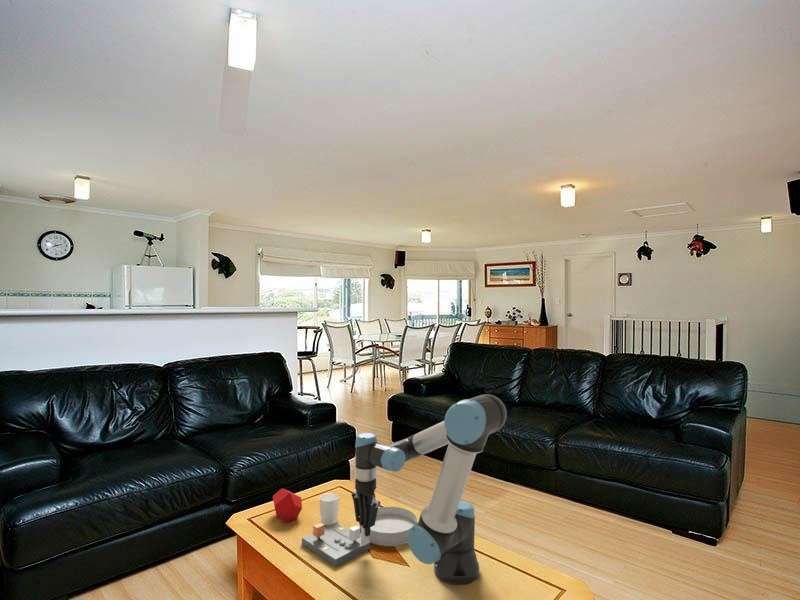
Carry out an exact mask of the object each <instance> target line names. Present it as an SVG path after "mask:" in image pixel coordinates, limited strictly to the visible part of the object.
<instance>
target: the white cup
mask: <svg viewBox="0 0 800 600" xmlns="http://www.w3.org/2000/svg"><path fill="white" fill-rule="evenodd" d="M339 502H340V496H339V495H338V494H337V493H332V492H328V493H322V495H320V496H319V515H320V523H322V524H324V526H330V525H332V524H335V523H337V522H338V515H339Z"/></svg>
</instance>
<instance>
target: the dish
mask: <svg viewBox="0 0 800 600" xmlns="http://www.w3.org/2000/svg"><path fill="white" fill-rule="evenodd" d="M417 523H418V517H417V516H416V514H415V513H414V512H412V511H411V510H408V509H406V508H404V507H399V506H382V507H381V506H379V507H378V511H377V516H376V521H375V525H374V526H372V527H370V535H369V541H370V544H373V545H378V546H382V547H383V546H384V547H395V546H401V545H405V544H408V543H407V542H408V532H409V530H410V529H411V528H412V527H413V526H414V525H417Z"/></svg>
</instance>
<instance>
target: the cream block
mask: <svg viewBox="0 0 800 600" xmlns="http://www.w3.org/2000/svg"><path fill="white" fill-rule="evenodd" d="M348 530H349V538H350V539H351V540H353V541H354V542H356V539H358V538H360V536H361V533H360V526H358V525H354V526H351V527H350V528H349V529H348Z"/></svg>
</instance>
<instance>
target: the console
mask: <svg viewBox="0 0 800 600" xmlns="http://www.w3.org/2000/svg"><path fill="white" fill-rule="evenodd" d="M301 545H302V546H303V547H304V548H306V549H308V550H309V551H311V552H312V553H314V554H316V555H317V556H319V557H320V558H322V559H323V560H324V561H326V562H327V563H329V564H331V565H332V566H333V567H338V566H339V565H341V564H344V563H345V562H347V561H349V560H350V559H351V560H352V559H353V558H355V557H357V556H359V555H360V554H363V553H364V552H366V551H369V550H370V549H371V542H370V541H369V543H368V544H366V545H364V546H363V545H361V535H360V538H358V539H356V542H354V541H353V540H351V539H350V538H349V529H348V528H346V527H344V526H343V525H341V524H340V523H337V522H336V523H335V524H332V525H327V526H326V527H325V526H324V535H322V536H320V539H318V538H317V537H315V536H313V532H312V533H309V534H308V535H305V536H303V537H301Z"/></svg>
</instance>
